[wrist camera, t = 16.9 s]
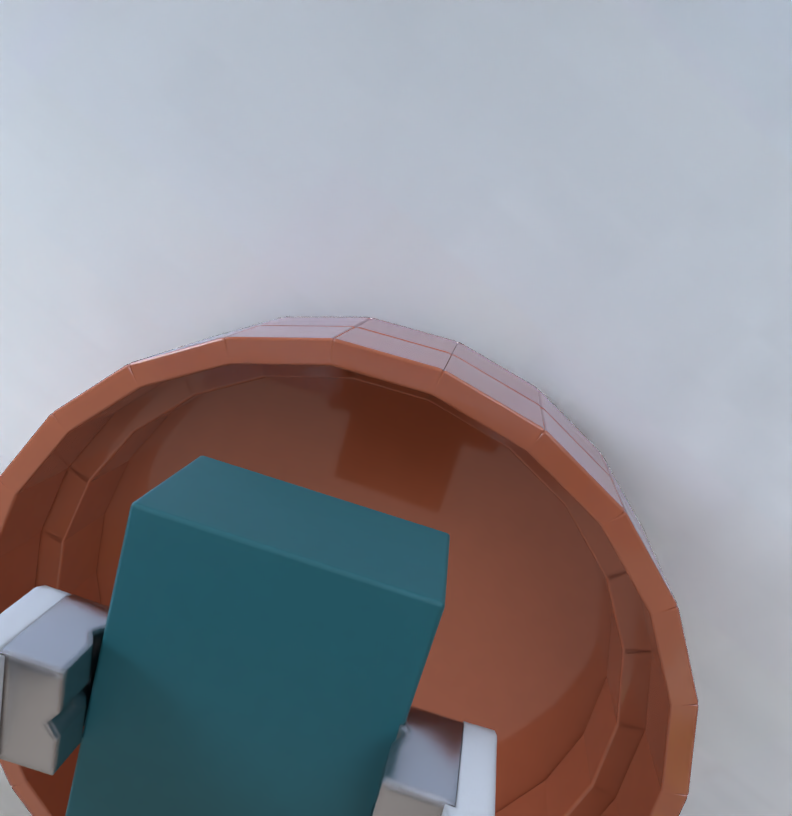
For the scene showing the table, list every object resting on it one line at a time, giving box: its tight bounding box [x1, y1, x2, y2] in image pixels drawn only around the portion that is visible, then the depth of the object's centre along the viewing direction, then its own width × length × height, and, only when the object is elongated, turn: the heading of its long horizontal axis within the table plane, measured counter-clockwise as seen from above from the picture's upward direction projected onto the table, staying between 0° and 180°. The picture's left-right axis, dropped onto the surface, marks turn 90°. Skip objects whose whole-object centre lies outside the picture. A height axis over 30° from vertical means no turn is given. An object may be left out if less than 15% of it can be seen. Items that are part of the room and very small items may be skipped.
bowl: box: [0, 317, 698, 816], centre depth 18 cm, size 18×18×4 cm
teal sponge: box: [65, 456, 450, 816], centre depth 11 cm, size 6×4×2 cm
